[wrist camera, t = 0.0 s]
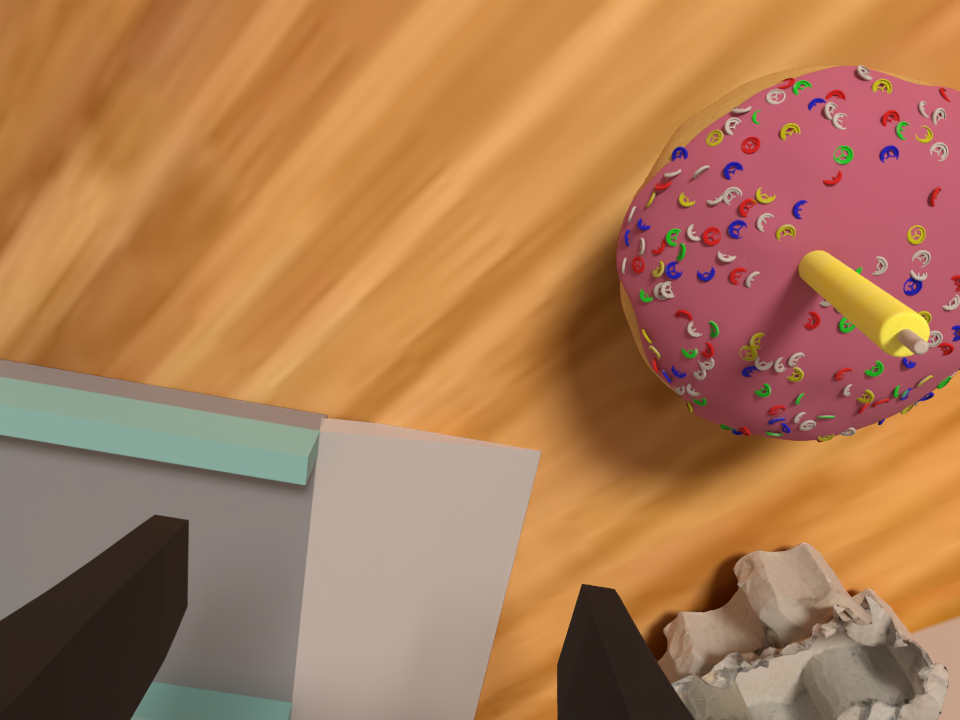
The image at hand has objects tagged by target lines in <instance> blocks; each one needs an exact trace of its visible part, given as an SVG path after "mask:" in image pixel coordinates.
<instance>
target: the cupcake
mask: <svg viewBox="0 0 960 720" xmlns="http://www.w3.org/2000/svg"><path fill="white" fill-rule="evenodd" d="M616 265H617V272H618V276H619V279H620V297H621V303H622V307H623V310H624V313H625V316H626V319H627V322H628V324H629V327H630V329H631V332H632V335H633V337H634V340H635V343H636V345H637V348H638V350H639V352H640V354H641V356H642V358H643V360H644V361H645V363H646V364H647V366H648V367H649V368H650V370H651V371H652V372H653V373H654V374H655V375H656V376H657V377H658V378H659V379H660V380H661V381H662V382H663V383H664V384H665V385H666V386H667V387H669V388H670V389H671V390H673V391H674V392H675V393H677V394H678V395H680V396H681V397H682V398H683V399H684V400H685V401H686V404H687V406H688V409H689V411H690V412H694V413H695V414H696V415H698V416H700V417H701V418H703V419H706V420H708V421H710V422H713V423H716V424H719V425H721V426H720V427H721V428H722V429H725V430H731V429H732V433H733V434H735V435H741V434H744V435H746V436H749V435H750V434H755V435H761V436H766V437H772V438H778V439H784V440H795V441H808V440H817V441H818V442H823V441H828V440H830V439H832V438H833V437H834V436H837V435H840V434H841V435H843V436H851V435H854V434H855V433H856V429H860V428H863V427H866V426H868V425H871V424H874V423H876V422H879V423H878V425H881V424H882V423H883V421H884V420H885V419H886V418H888V417H891V416H893V415H895V414H897V413H899V412H900V411H901V414H905V413H907V412H908V411H909V410H910V409H911V408H912V407H913V406H914V405H915V406H916V405H917V404H918V402H919V401H924V400H928V399H930V398H932V397H933V396H934V393H932V391H933V390H934V389H936V388H938V389H941V388H943V387H944V386H945V385H946V384H947V383H948V382H949V381H950V379H951V378H952V377H953V376H954V375H955V374H956V372H957V371H958V370H960V92H958V91H956V90H954V89H951V88H947V87H940V86H934V85H932V84H929V83H926V82H923V81H920V80H917V79H913V78H910V77H906V76H902V75H899V74H895V73H891V72H886V71H881V70H875V69H868V68H866V67H864V66H858V67H857V66H832V65H829V66H812V67H804V68H797V69H792V70H787V71H782V72H777V73H774V74H770V75H767V76H764V77H761V78H758V79H755V80H752V81H750V82H748V83H745V84H743V85H741V86H740V87H738V88H736V89H734V90H733V91H731V92H730V93H728V94H726V95H725V96H723V97H722V98H720V99H719V100H718V101H716V102H714V103H713V104H711V105H710V106H708V107H707V108H705V109H703V110H702V111H700V112H699V113H697V114H695V115H694V116H692V117H691V118H689V119H688V120H687V121H686V122H684V123H683V124H682V125H681V126H680V127H679V128H678V129H677V130H676V132H675V133H674V134H673V135H672V137H671V138H670V140H669V141H668V143H667V145H666V146H665V148H664V149H663V151H662V153H661V154H660V156H659V158H658V160H657V161H656V163H655V165H654V167H653V168H652V170H651V172H650V173H649V175H648V176H647V178H646V180H645V181H644V183H643V184H642V186H641V187H640V189H639V190H638V191H637V193H636V195H635V196H634V198H633V201H632V203H631V205H630V207H629V209H628V211H627V213H626V215H625V218H624V221H623V224H622V227H621V231H620V235H619V239H618V244H617V252H616ZM927 395H929V396H928V397H926V396H927ZM724 426H725V427H724ZM736 430H738V432H736ZM740 431H741V432H740ZM850 431H851V433H847V432H850Z"/></svg>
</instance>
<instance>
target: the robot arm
mask: <svg viewBox="0 0 960 720" xmlns="http://www.w3.org/2000/svg"><path fill="white" fill-rule="evenodd" d="M188 550H189V520H186V519H180V518H174V517H167V516H161V515H153V516H152V517H150V518H149V519H147V520H146V521H145V522H143V523H142V524H140V525H139V526H138V527H136V528H135V529H133V530H132V531H131V532H129V533H128V534H127V535H125V536H124V537H122V538H121V539H120V540H118V541H117V542H116V543H114V544H113V545H112V546H110V547H109V548H107V549H106V550H105V551H103V552H102V553H101V554H99V555H98V556H96V557H95V558H94V559H92V560H91V561H89V562H88V563H87V564H85V565H84V566H82V567H81V568H79V569H78V570H76V571H75V572H74V573H72V574H71V575H69V576H68V577H66V578H65V579H63V580H62V581H61V582H59V583H58V584H56V585H55V586H53V587H52V588H50V589H49V590H47V591H46V592H44V593H43V594H41V595H40V596H38V597H37V598H35V599H33V600H32V601H30V602H29V603H27V604H26V605H24V606H22V607H21V608H19V609H18V610H16V611H14V612H13V613H11V614H10V615H8V616H7V617H5V618H3V619H2V620H0V720H131V718H132V716H133V715H134V713H135V711H136V709H137V708H138V706H139V704H140V703H141V701H142V699H143V697H144V696H145V694H146V692H147V690H148V689H149V687H150V685H151V683H152V682H153V680H154V678H155V676H156V675H157V673H158V671H159V669H160V668H161V666H162V664H163V662H164V660H165V658H166V656H167V654H168V652H169V649H170V647H171V645H172V643H173V640H174V638H175V636H176V633H177V631H178V629H179V626H180V624H181V621H182V619H183V617H184V614H185V612H186V609H187V607H188ZM557 706H558V720H695V719H694V717H693V716H692V714H691V713H690V711H689V710H688V709H687V707H686V706H685V704H684V703H683V701H682V700H681V698H680V697H679V695H678V694H677V692H676V691H675V689H674V687H673V686H672V684H671V683H670V681H669V680H668V678H667V677H666V675H665V673H664V672H663V670H662V669H661V667H660V666H659V664H658V662H657V661H656V659H655V657H654V656H653V654H652V652H651V651H650V649H649V647H648V646H647V644H646V642H645V641H644V639H643V637H642V635H641V634H640V632H639V630H638V629H637V627H636V625H635V623H634V622H633V620H632V618H631V616H630V614H629V613H628V611H627V609H626V607H625V606H624V604H623V602H622V600H621V598H620V597H619V595H618V594H617V592H616V591H615V589H610V588H604V587H598V586H592V585H586V584H582V586H581V589H580V592H579V596H578V599H577V602H576V605H575V609H574V612H573V615H572V618H571V622H570V625H569V628H568V631H567V635H566V638H565V641H564V645H563V648H562V651H561V654H560V658H559V661H558V664H557Z"/></svg>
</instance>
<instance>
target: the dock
mask: <svg viewBox="0 0 960 720" xmlns="http://www.w3.org/2000/svg"><path fill="white" fill-rule="evenodd" d="M540 455H541V451H538V450H532V449H527V448H521V447H515V446H509V445H503V444H497V443H491V442H486V441H480V440H474V439H468V438H462V437H456V436H450V435H445V434H439V433H433V432H427V431H421V430H415V429H409V428H404V427H398V426H392V425H386V424H380V423H370V422H360V421H350V420H340V419H329V418H327V415H323V414H317V413H311V412H305V411H299V410H294V409H288V408H282V407H276V406H270V405H264V404H258V403H253V402H247V401H241V400H235V399H229V398H223V397H217V396H212V395H206V394H200V393H194V392H188V391H182V390H176V389H171V388H165V387H159V386H153V385H147V384H141V383H135V382H130V381H124V380H118V379H112V378H106V377H100V376H94V375H89V374H83V373H77V372H71V371H65V370H59V369H53V368H48V367H42V366H36V365H30V364H24V363H18V362H13V361H7V360H1V359H0V620H2V619H3V618H5V617H7V616H8V615H10V614H11V613H13V612H14V611H16V610H18V609H19V608H21V607H22V606H24V605H26V604H27V603H29V602H30V601H32V600H33V599H35V598H37V597H38V596H40V595H41V594H43V593H44V592H46V591H47V590H49V589H50V588H52V587H53V586H55V585H56V584H58V583H59V582H61V581H62V580H63V579H65V578H66V577H68V576H69V575H71V574H72V573H74V572H75V571H76V570H78V569H79V568H81V567H82V566H84V565H85V564H87V563H88V562H89V561H91V560H92V559H94V558H95V557H96V556H98V555H99V554H101V553H102V552H103V551H105V550H106V549H107V548H109V547H110V546H112V545H113V544H114V543H116V542H117V541H118V540H120V539H121V538H122V537H124V536H125V535H127V534H128V533H129V532H131V531H132V530H133V529H135V528H136V527H138V526H139V525H140V524H142V523H143V522H145V521H146V520H147V519H149V518H150V517H152V516H153V515H161V516H167V517H174V518H180V519H186V520H189V550H188V607H187V609H186V612H185V614H184V617H183V619H182V621H181V624H180V626H179V629H178V631H177V633H176V636H175V638H174V640H173V643H172V645H171V647H170V649H169V652H168V654H167V656H166V658H165V660H164V662H163V664H162V666H161V668H160V669H159V671H158V673H157V675H156V676H155V678H154V680H153V682H152V683H151V685H150V687H149V689H148V690H147V692H146V694H145V696H144V697H143V699H142V701H141V703H140V704H139V706H138V708H137V709H136V711H135V713H134V715H133V716H132V718H131V720H474V717H475V713H476V709H477V705H478V701H479V697H480V693H481V689H482V685H483V681H484V677H485V673H486V669H487V665H488V661H489V657H490V653H491V649H492V645H493V641H494V637H495V633H496V629H497V625H498V621H499V617H500V613H501V610H502V606H503V602H504V598H505V594H506V590H507V586H508V582H509V578H510V574H511V570H512V566H513V562H514V558H515V554H516V550H517V546H518V542H519V538H520V534H521V530H522V526H523V522H524V518H525V514H526V510H527V506H528V502H529V498H530V494H531V490H532V486H533V482H534V478H535V475H536V471H537V467H538V463H539V459H540Z"/></svg>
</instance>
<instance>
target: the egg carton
mask: <svg viewBox="0 0 960 720" xmlns="http://www.w3.org/2000/svg"><path fill="white" fill-rule="evenodd" d="M733 571H734V573H735V575H736V577H737V579H738V584H737V585H738V586H739V589H738V591H737V592H736V593H735V595H734V596H733V597H732V598H731V600H730V601H729V602H728V603H727V604H726V605H724V606H723V607H721V608H719V609H716V610H710V611H707V612H704V613H703V612H686V611H680V612H679V613H678V615H677V617H676V618H675V619H674V620H673V621H672V622H671V623H669V624H668V625H667V626H666V627H665V628H664V631H663V632H664V634H665V636H666V638H667V640H668V646H667V652H666V653H665V654H664V656H663V657H662V658H661V659H660V660H659V661H658V664H659V666H660V667H661V669H662V670H663V672H664V673H665V675H666V677H667V678H668V680H669V681H670V683H671V684H672V686H673V687H674V689H675V691H676V692H677V694H678V695H679V697H680V698H681V700H682V701H683V703H684V704H685V706H686V707H687V709H688V710H689V711H690V713H691V714H692V716H693V717H694V719H695V720H938V718H939V716H940V714H941V710H942V707H943V703H944V699H945V696H946V692H947V688H948V682H949V672H948V671H947V669H946V667H945V666H944V665H942V664H941V663H935V664H933V663H932V661H931V660H930V658H929V656H928V654H927V653H926V652H925V651H924V650H923V649H922V648H921V647H920V645H918V644H917V642H916V641H915V640H914V639H913V637H912V636H911V634H910V632H909V631H908V629H907V628H906V627H905V626H904V624H903V623H902V622H901V621H900V619H899V618H898V617H897V615H896V614H895V612H894V611H893V610H892V608H891V607H890V606H889V605H888V604H887V603H886V602H884V601H883V600H882V599H881V598H880V597H878V596H877V594H876V593H875V592H874V591H873V589H869V588H867V589H865V590H863V591H862V592H860V593H858V594H857V595H855V596H853V597H851V596H850V595H849V594H848V593H847V591H846V590H845V589H844V587H843V585H842V584H841V582H840V580H839V579H838V577H837V576H836V574H835V573H834V571H833V570H832V569H831V567H830V566H829V565H828V564H827V563H826V561H825V559H824V558H823V556H822V555H821V554H820V553H819V552H818V551H817V550H815V549H814V548H813V546H811V545H809V544H808V543H806V542H805V543H802V544H798V545H796V546H794V547H792V548H790V549H788V550H787V551H781V552H780V551H778V552H765V551H761V550H759V551H754V552H752V553H749V554H747V555H745V556H744V557H742V558H740V560H739V561H738V562H737V563H736V565H735V567H734V569H733Z"/></svg>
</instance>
